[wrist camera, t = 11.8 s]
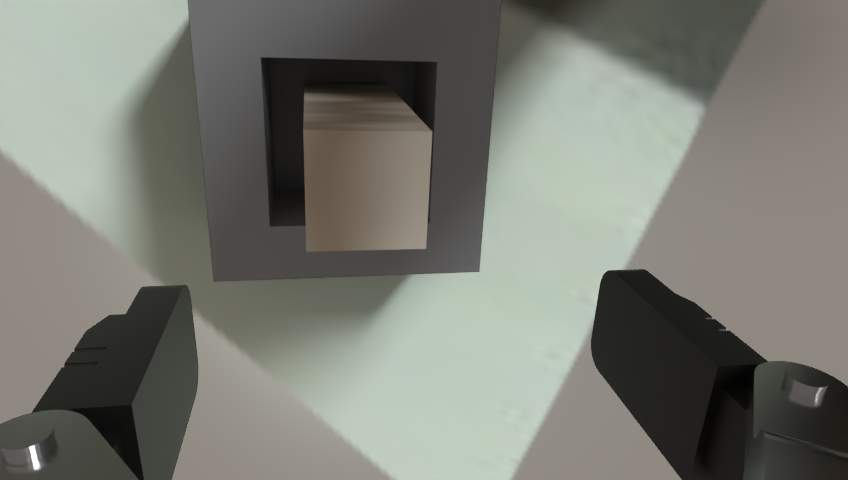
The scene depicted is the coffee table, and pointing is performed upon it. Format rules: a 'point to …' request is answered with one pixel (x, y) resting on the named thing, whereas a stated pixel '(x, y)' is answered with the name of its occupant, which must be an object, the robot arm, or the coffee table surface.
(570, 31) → the coffee table surface
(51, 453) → the robot arm
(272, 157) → the well block
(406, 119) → the wooden peg
